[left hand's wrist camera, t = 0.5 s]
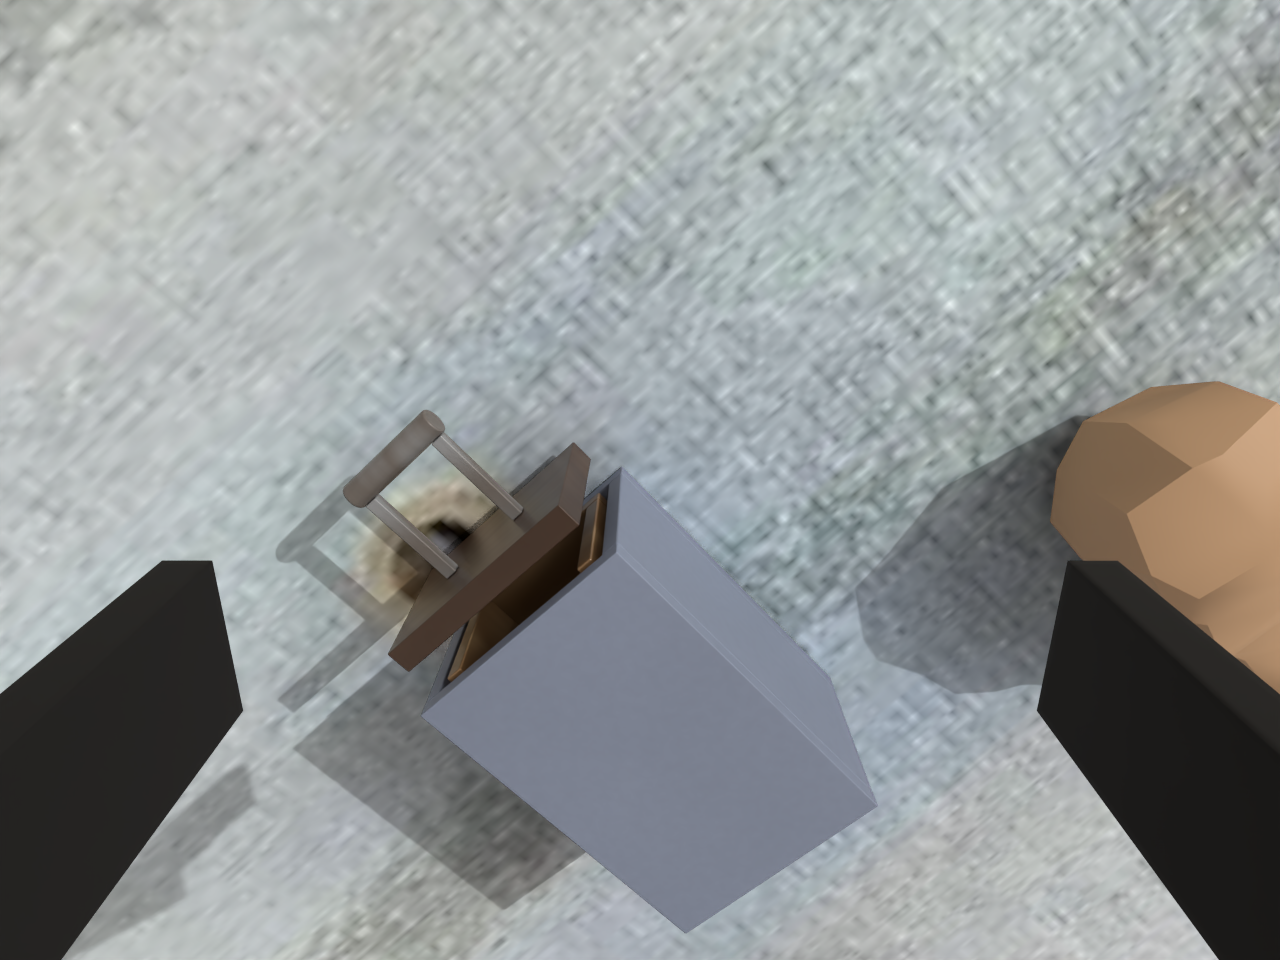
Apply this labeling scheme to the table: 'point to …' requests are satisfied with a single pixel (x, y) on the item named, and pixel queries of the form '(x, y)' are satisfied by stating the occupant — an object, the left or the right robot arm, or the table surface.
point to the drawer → (486, 546)
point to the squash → (1186, 507)
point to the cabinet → (660, 720)
